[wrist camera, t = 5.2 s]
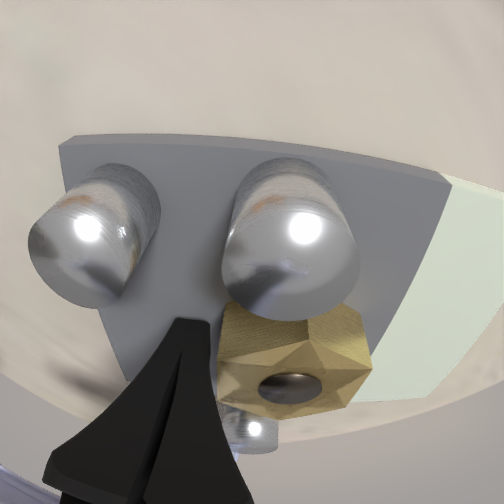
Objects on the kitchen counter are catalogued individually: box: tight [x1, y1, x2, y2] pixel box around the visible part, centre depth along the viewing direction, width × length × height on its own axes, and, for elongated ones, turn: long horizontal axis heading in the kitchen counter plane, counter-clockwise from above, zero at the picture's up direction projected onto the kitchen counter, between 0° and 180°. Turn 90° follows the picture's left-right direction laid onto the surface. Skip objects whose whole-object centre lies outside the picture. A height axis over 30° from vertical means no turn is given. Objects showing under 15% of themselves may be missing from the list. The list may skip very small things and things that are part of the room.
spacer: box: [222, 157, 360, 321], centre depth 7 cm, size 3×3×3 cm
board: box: [58, 134, 504, 402], centre depth 12 cm, size 13×18×1 cm
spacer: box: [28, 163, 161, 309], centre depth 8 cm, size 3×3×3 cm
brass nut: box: [217, 300, 373, 420], centre depth 11 cm, size 6×5×3 cm
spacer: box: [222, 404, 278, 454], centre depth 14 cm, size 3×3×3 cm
